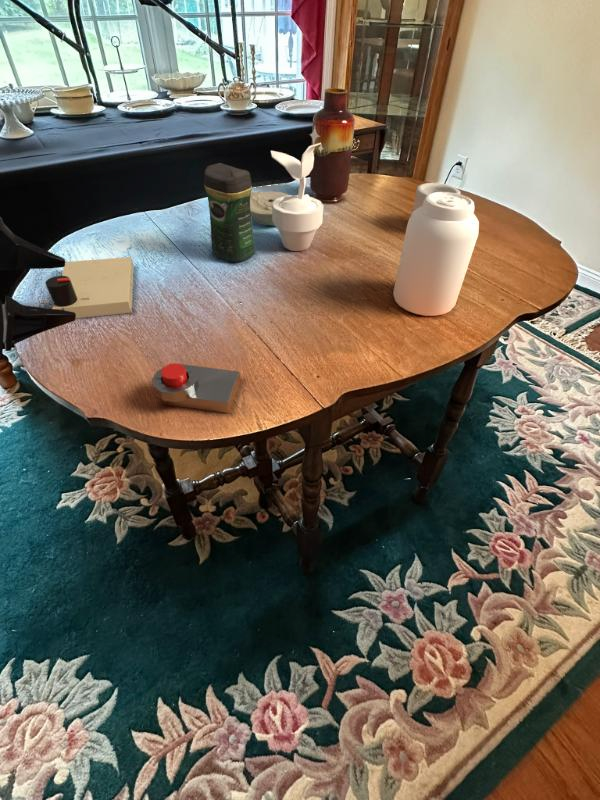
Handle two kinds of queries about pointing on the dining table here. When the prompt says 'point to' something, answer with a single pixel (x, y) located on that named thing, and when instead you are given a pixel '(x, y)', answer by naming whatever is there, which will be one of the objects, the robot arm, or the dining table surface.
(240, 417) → the dining table surface
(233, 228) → the coffee jar
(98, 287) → the beige knob base panel
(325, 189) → the vase
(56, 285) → the knob
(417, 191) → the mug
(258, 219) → the oil lamp
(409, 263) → the white lidded jar
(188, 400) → the block
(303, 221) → the potted plant
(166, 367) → the button
